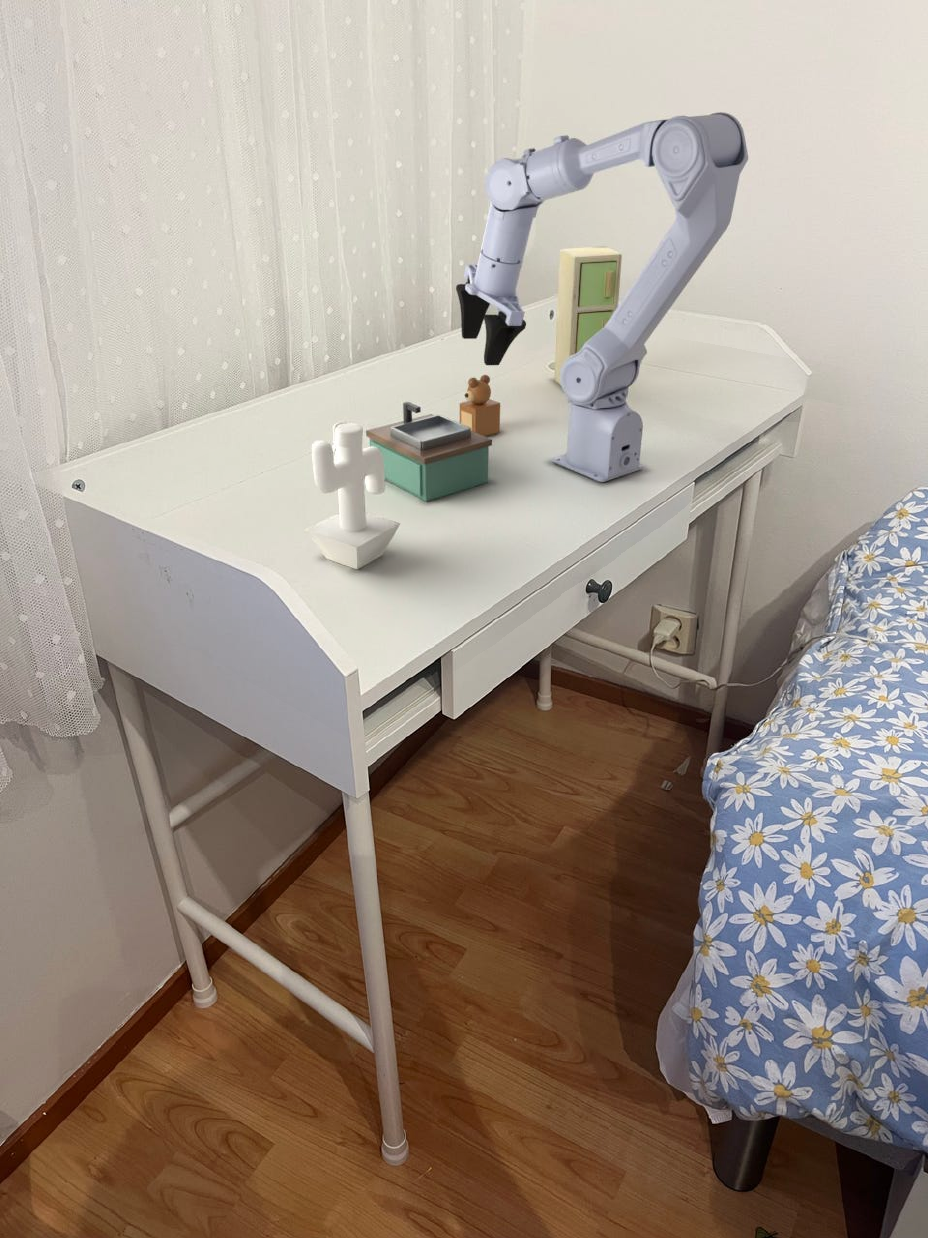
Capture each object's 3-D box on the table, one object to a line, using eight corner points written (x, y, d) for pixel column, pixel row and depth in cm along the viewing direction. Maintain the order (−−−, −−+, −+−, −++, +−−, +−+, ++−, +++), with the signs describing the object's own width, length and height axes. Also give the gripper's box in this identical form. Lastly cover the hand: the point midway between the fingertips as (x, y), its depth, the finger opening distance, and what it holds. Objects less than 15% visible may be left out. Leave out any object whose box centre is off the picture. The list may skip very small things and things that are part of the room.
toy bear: (499, 432, 141) (501, 375, 137) (472, 440, 138) (473, 382, 134) (483, 425, 143) (484, 370, 139) (457, 433, 141) (457, 376, 136)
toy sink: (491, 482, 125) (492, 415, 120) (421, 504, 119) (419, 435, 114) (432, 454, 133) (431, 391, 129) (363, 473, 127) (360, 408, 123)
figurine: (407, 549, 108) (404, 419, 100) (351, 582, 101) (343, 445, 94) (358, 533, 112) (351, 406, 104) (300, 563, 105) (288, 430, 97)
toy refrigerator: (568, 393, 157) (576, 256, 146) (552, 380, 163) (559, 248, 152) (614, 389, 159) (625, 254, 148) (596, 376, 165) (606, 245, 154)
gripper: (452, 231, 130) (434, 326, 139) (498, 278, 121) (475, 376, 129) (499, 233, 133) (478, 326, 142) (547, 279, 124) (521, 375, 132)
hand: (480, 350), depth 136 cm, fingers open, 7 cm apart
